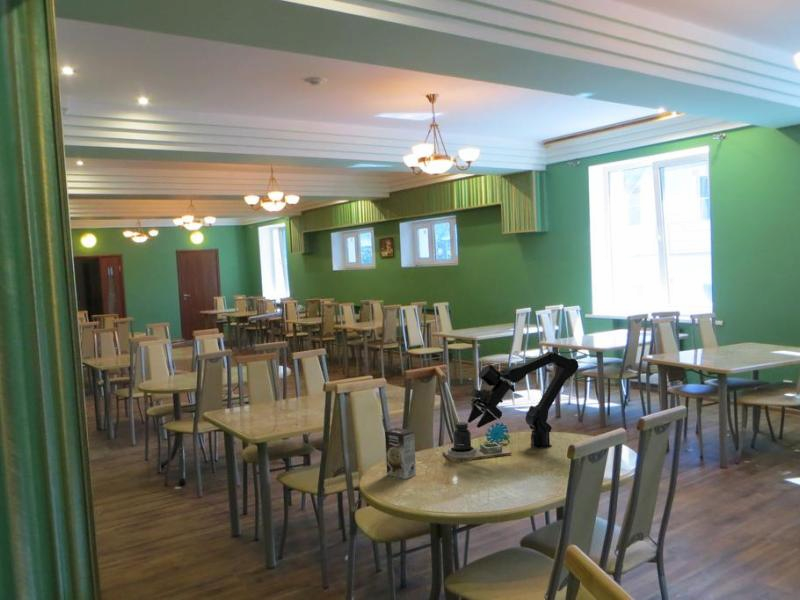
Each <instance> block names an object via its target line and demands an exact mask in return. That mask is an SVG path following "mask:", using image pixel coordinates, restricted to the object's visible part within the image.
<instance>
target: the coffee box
mask: <svg viewBox="0 0 800 600" xmlns="http://www.w3.org/2000/svg"><path fill="white" fill-rule="evenodd" d="M384 440H385V442H384V443H385V455H386V456H385V459H386V460H385V462H386V475H387V476H389V477H390V476H391V477H395V478H399V479H403V480H406V479H409V478H411V477H414V476H417V471H416V470H417V469H416V449H415V448H416V444H415V443H416V442H415V440H416V439H415V431H414V430H410V429H409V430H408V429H403V428H399V427H395V428H391V429H388V430H385V431H384Z"/></svg>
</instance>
